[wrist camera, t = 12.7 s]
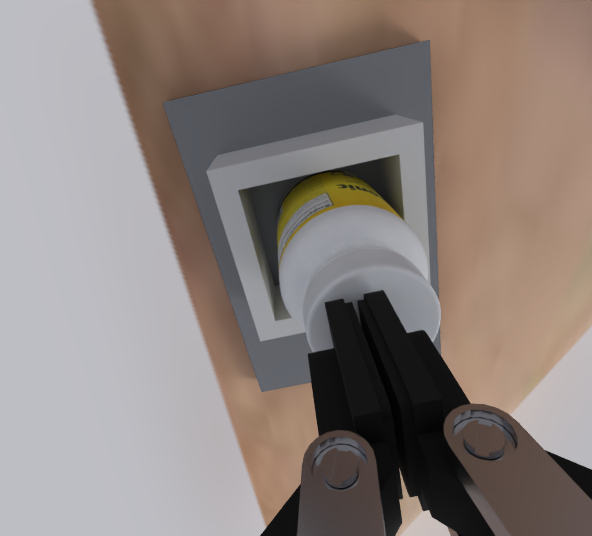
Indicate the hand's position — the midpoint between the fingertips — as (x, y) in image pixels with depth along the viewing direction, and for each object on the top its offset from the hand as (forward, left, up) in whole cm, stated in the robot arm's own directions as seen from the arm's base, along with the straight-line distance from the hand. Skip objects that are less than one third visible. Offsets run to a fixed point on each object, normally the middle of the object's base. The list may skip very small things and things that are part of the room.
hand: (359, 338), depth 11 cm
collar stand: (0, +2, -11) cm, 11 cm away
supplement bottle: (0, 0, -10) cm, 10 cm away
